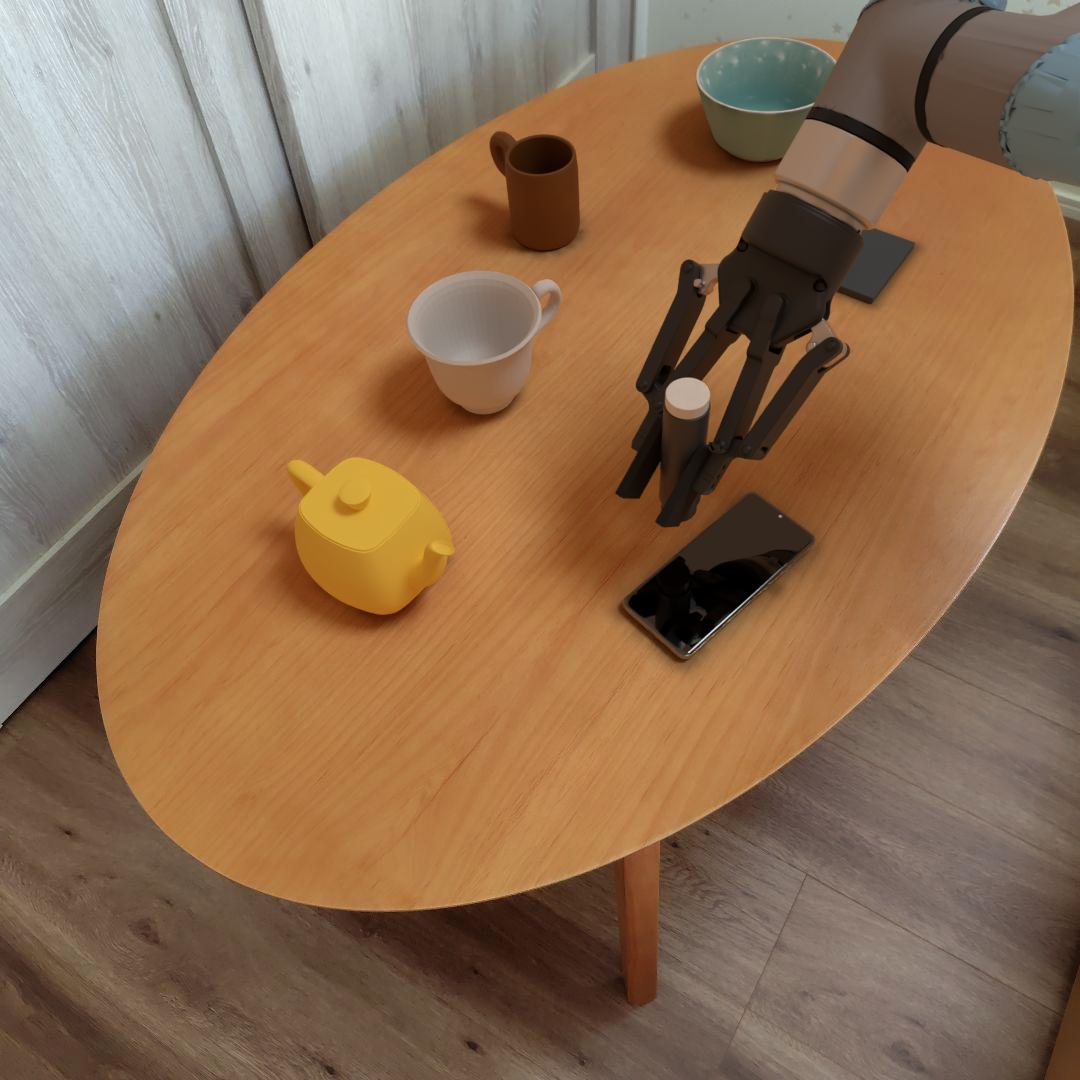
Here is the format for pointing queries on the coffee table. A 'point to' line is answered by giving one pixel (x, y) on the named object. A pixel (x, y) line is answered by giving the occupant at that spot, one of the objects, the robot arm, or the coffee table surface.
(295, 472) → the teapot
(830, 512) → the coffee table surface
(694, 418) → the dark grey capped cylinder
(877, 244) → the pad
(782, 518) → the smartphone
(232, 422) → the coffee table surface
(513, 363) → the teacup
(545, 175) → the mug
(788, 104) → the bowl
